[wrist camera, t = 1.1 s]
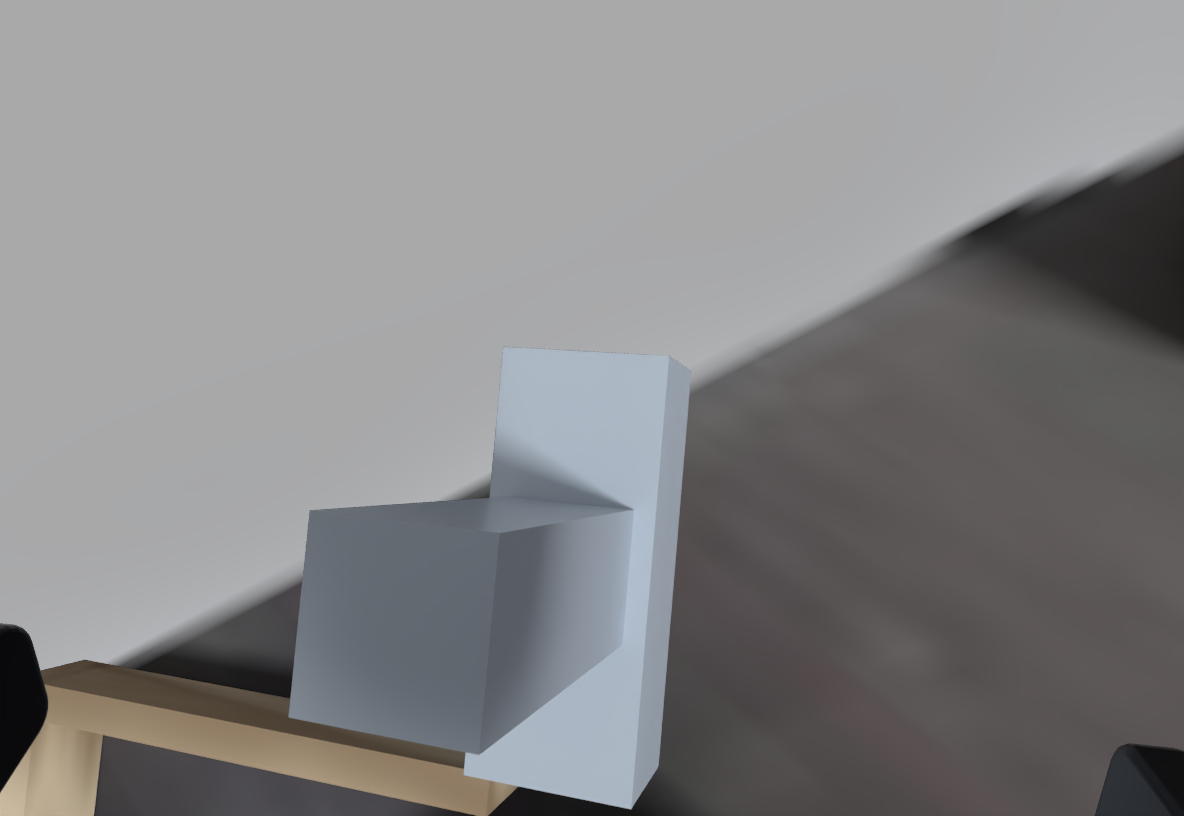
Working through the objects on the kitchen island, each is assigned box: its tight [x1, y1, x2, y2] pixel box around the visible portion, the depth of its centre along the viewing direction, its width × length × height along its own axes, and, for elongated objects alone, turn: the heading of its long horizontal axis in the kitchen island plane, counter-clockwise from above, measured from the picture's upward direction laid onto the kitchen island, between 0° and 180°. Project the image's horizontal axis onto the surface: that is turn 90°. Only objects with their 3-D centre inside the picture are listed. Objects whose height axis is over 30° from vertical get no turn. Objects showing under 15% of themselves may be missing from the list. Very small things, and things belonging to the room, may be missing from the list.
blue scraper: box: [288, 347, 692, 809], centre depth 18 cm, size 4×10×11 cm, turn 175°
